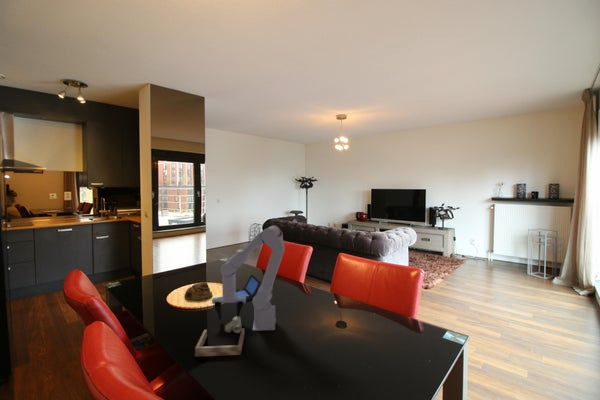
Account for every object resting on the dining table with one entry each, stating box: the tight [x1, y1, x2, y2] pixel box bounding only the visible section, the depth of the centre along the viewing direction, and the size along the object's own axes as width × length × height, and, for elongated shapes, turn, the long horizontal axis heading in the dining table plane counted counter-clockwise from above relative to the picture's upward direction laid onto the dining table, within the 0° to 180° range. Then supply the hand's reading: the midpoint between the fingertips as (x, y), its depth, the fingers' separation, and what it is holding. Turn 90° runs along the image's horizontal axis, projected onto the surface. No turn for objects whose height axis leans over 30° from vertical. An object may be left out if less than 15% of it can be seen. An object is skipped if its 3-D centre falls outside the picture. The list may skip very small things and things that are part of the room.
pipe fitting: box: [224, 315, 242, 334], centre depth 118 cm, size 8×4×7 cm
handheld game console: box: [236, 274, 262, 302], centre depth 153 cm, size 16×13×9 cm
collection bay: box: [194, 327, 246, 358], centre depth 106 cm, size 16×13×3 cm
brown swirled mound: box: [184, 281, 213, 302], centre depth 152 cm, size 13×15×8 cm
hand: (229, 318), depth 123 cm, fingers open, 7 cm apart
